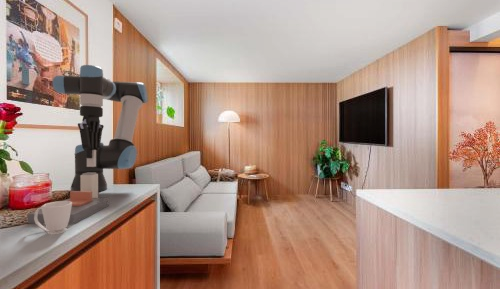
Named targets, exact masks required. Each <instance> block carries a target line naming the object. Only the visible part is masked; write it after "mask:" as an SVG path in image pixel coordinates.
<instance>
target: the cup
mask: <svg viewBox="0 0 500 289" xmlns="http://www.w3.org/2000/svg"><path fill="white" fill-rule="evenodd" d="M71 207H72V202H70V201H64V200H58V201H52V202H46V203H44V204H42V205H41V206H40V207H38V208H37V209H36V210H34V211H35V215H34V220H35V223H36V226H37V227H38V228H40V229H41V230H43V231H44V232H47V234H48V235H52V236H53V235H60V234H62V233H66V231H67V230H68V228H66V227H68V225H69V224H68V222H69V218H70V212H71ZM40 209H42V213H43V217H44V222H45V224H40V223H39V221H38V219H37V216H38V211H39V210H40ZM44 225H45V226H44Z"/></svg>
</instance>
